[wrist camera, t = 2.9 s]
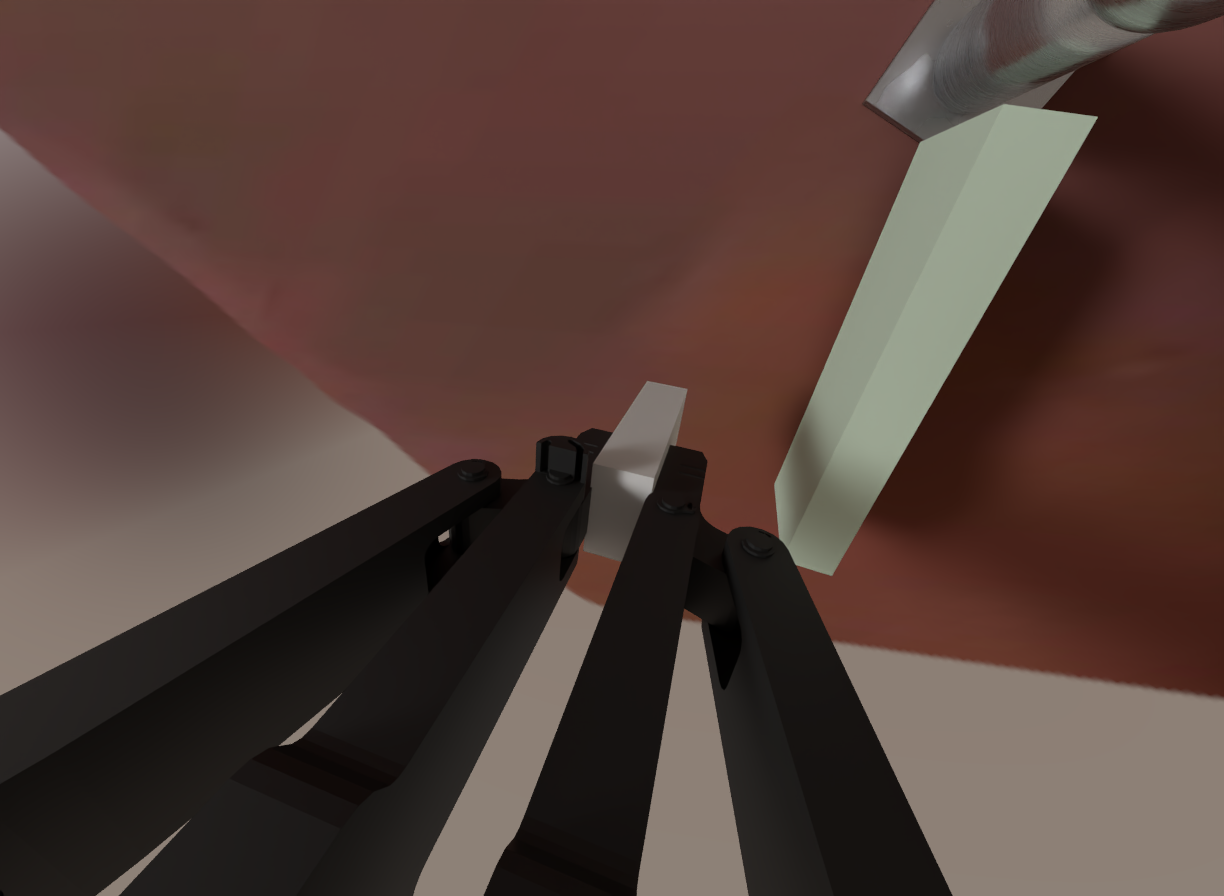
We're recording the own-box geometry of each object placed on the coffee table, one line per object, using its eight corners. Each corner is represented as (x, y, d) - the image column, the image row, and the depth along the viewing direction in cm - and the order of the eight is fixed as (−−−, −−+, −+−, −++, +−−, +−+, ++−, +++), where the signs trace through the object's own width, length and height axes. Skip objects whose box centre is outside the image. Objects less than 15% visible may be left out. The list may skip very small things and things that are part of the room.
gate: (920, 141, 16) (1003, 103, 10) (980, 151, 15) (1098, 116, 10) (774, 484, 23) (781, 560, 18) (813, 495, 23) (831, 575, 18)
